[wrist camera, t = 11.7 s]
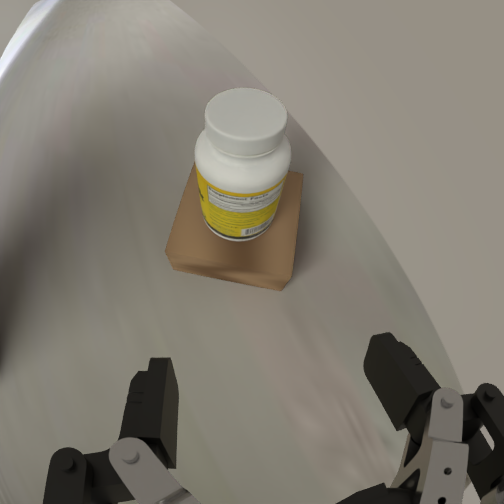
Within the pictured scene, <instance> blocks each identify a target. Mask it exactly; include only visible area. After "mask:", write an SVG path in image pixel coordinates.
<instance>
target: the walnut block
mask: <svg viewBox="0 0 504 504" xmlns="http://www.w3.org/2000/svg"><path fill="white" fill-rule="evenodd" d="M302 183H303V174H301V173H297V172H292V171H288V173H287V176H286V179H285V182H284V186H283V189H282V193H281V196H280V199H279V203H278V206H277V209H276V213H275V216H274V219H273V221H272V223H271V225H270V226H269V228H268V229H267V230H266V231H265V232H264V233H263V234H261V235H260V236H258V237H256V238H254V239H251V240H247V241H231V240H227V239H224V238H222V237H220V236H218V235H217V234H215V233H214V232H213V231H212V230H211V229H210V228H209V227H208V226H207V224H206V223H205V221H204V218H203V214H202V210H201V203H200V195H199V188H198V180H197V173H196V165H195V162H194V165H193V168H192V171H191V173H190V176H189V179H188V182H187V185H186V187H185V190H184V193H183V196H182V199H181V202H180V205H179V208H178V211H177V214H176V217H175V220H174V223H173V227H172V230H171V233H170V236H169V239H168V243H167V246H166V249H165V253H166V255H167V257H168V259H169V261H170V263H171V265H172V267H173V269H174V270H178V271H182V272H187V273H192V274H197V275H201V276H206V277H211V278H216V279H221V280H226V281H231V282H236V283H241V284H246V285H252V286H257V287H262V288H267V289H273V290H278V291H281V290H282V289H283V288H284V286H285V285H286V284H287V282H288V281H289V280H290V278H291V277H292V270H293V262H294V254H295V246H296V238H297V230H298V221H299V212H300V203H301V193H302Z"/></svg>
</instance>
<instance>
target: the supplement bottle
mask: <svg viewBox="0 0 504 504" xmlns="http://www.w3.org/2000/svg"><path fill="white" fill-rule="evenodd" d="M287 120H288V114H287V110H286V108H285V106H284V105H283V103H282V102H281V101H280V100H279V99H278V98H276V97H275V96H273V95H272V94H270V93H268V92H265V91H262V90H259V89H255V88H233V89H229V90H226V91H223V92H221V93H219V94H217V95H216V96H214V97H213V98H212V99H211V100H210V101H209V102H208V104H207V106H206V109H205V128H204V130H203V131H202V132H201V134H200V135H199V137H198V139H197V141H196V145H195V165H196V173H197V180H198V188H199V195H200V203H201V210H202V214H203V218H204V221H205V223H206V224H207V226H208V227H209V228H210V229H211V230H212V231H213V232H214V233H215V234H217V235H218V236H220V237H222V238H224V239H227V240H231V241H247V240H251V239H254V238H256V237H258V236H260V235H261V234H263V233H264V232H265V231H266V230H267V229H268V228H269V226H270V225H271V223H272V221H273V219H274V216H275V213H276V209H277V206H278V203H279V199H280V196H281V193H282V189H283V186H284V182H285V179H286V176H287V173H288V169H289V166H290V162H291V156H292V153H291V146H290V142H289V140H288V138H287V136H286V135H285V130H286V125H287Z"/></svg>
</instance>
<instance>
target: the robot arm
mask: <svg viewBox="0 0 504 504" xmlns="http://www.w3.org/2000/svg"><path fill="white" fill-rule="evenodd" d="M363 366H364V372H365V375H366V377H367V379H368V380H369V382H370V384H371V386H372V387H373V389H374V391H375V393H376V395H377V396H378V398H379V400H380V402H381V403H382V405H383V407H384V409H385V411H386V413H387V414H388V416H389V418H390V420H391V422H392V423H393V425H394V427H395V429H396V431H399V430H402V429H404V428H407V430H408V432H409V434H408V436H407V440H406V444H405V448H404V452H403V456H402V460H401V464H400V468H399V471H398V473H397V475H396V477H395V479H394V480H393V482H392V484H391V486H390V488H386V486H385V484H384V483H381V484H379V485H376V486H373V487H370V488H367V489H365V490H362V491H358V492H356V493H354V494H353V495H351V496H349V497H347V498H346V499H344V500H342V501H340V502H338V503H336V504H462V499H463V493H464V487H465V480H466V472H467V473H468V475H469V477H470V479H471V481H472V483H473V485H474V487H475V489H476V492H477V494H478V496H479V498H480V500H481V502H480V504H504V396H503V395H502V393H501V392H500V391H499V389H498V388H497V387H496V386H494V385H492V384H489V383H484V384H481V385H480V386H479V387H478V388H477V390H476V391H475V393H474V394H465V395H460V394H459V393H458V392H457V391H455V390H453V389H451V388H441V387H440V386H439V385H438V383H437V382H436V381H435V379H434V378H433V377H432V375H431V374H430V373H429V371H428V370H427V369H426V367H425V366H424V365H423V364H422V362H421V361H420V360H419V358H417V356H416V354H415V353H414V352H413V351H412V349H411V348H410V347H408V346H407V345H405V344H404V343H402V342H401V341H400V342H398V341H397V340H396V339H395V337H394V336H393V335H392V334H391V333H390V332H387V333H382V334H377V335H373V336H372V337H371V339H370V343H369V346H368V350H367V353H366V356H365V359H364V365H363ZM178 403H179V391H178V384H177V380H176V376H175V372H174V369H173V365H172V361H171V358H151V359H150V361H149V367H148V371H138V372H137V374H136V375H135V376H134V377H133V379H132V380H131V383H130V387H129V394H128V396H127V403H126V406H125V410H124V415H123V420H122V426H121V431H120V436H119V438H118V441H117V442H115V443H114V444H113V445H112V447H111V448H110V449H108V450H105V451H102V452H97V453H91V454H82V453H81V452H80V451H78V450H77V449H74V448H69V447H67V448H62V449H59V450H58V451H56V452H55V453H54V454H53V456H52V458H51V460H50V465H49V470H48V475H47V481H46V486H45V493H44V499H43V504H118V502H124V501H130V500H136V501H137V502H138V503H139V504H201V503H200V502H199V501H198V500H197V499H196V498H195V497H194V496H193V495H192V494H191V493H190V492H189V491H187V490H186V489H184V488H183V487H182V486H181V485H180V483H179V482H178V481H177V480H176V479H175V478H174V477H173V476H172V474H171V473H170V472H169V471H168V468H171V469H176V450H177V422H178ZM483 425H484V426H485V427H486V429H487V430H488V432H489V434H490V436H491V437H492V439H493V441H494V449H493V451H492V449H491V448H490V446H489V444H488V443H487V441H486V439H485V437H484V436H483V434H482V433H481V431H480V428H481V427H482V426H483Z"/></svg>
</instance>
